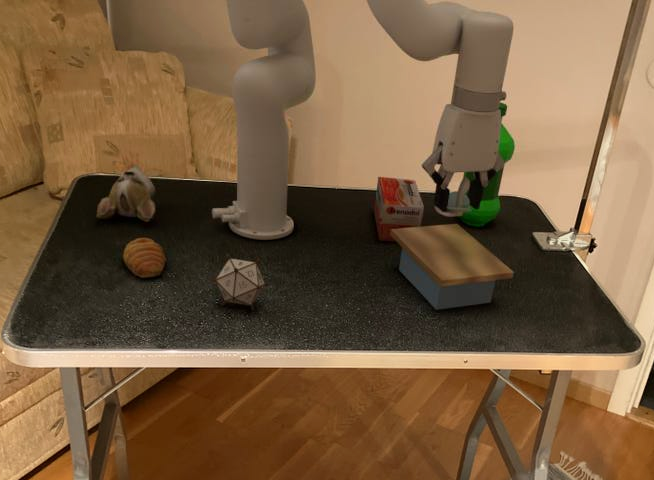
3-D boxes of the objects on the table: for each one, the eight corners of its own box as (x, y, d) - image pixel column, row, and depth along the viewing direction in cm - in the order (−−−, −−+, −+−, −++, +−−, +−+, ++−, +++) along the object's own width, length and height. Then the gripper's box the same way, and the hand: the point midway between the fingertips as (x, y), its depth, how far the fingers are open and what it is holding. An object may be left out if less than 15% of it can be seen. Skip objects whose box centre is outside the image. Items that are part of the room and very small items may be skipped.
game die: (228, 320, 124) (202, 264, 123) (275, 299, 126) (250, 244, 124) (229, 322, 116) (201, 262, 114) (280, 300, 117) (253, 240, 115)
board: (440, 286, 122) (442, 280, 121) (389, 235, 137) (390, 229, 136) (512, 278, 128) (513, 272, 127) (456, 229, 142) (457, 223, 142)
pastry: (172, 278, 126) (171, 258, 124) (130, 283, 123) (128, 262, 121) (160, 254, 133) (159, 234, 131) (121, 257, 130) (119, 237, 128)
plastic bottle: (506, 229, 160) (532, 112, 146) (463, 232, 156) (485, 112, 143) (483, 210, 168) (506, 97, 154) (442, 213, 164) (461, 96, 150)
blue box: (436, 309, 128) (441, 278, 124) (398, 269, 139) (402, 240, 135) (490, 302, 132) (497, 272, 129) (450, 264, 143) (455, 235, 140)
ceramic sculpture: (163, 159, 147) (149, 192, 135) (166, 199, 152) (153, 234, 140) (107, 154, 146) (88, 187, 134) (112, 195, 151) (94, 231, 139)
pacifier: (435, 219, 124) (471, 222, 124) (440, 183, 120) (477, 186, 121) (433, 202, 130) (467, 205, 130) (437, 167, 126) (472, 170, 127)
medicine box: (419, 244, 149) (425, 207, 144) (378, 242, 148) (383, 204, 143) (410, 214, 161) (415, 178, 157) (372, 211, 160) (376, 175, 156)
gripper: (508, 92, 123) (488, 196, 133) (416, 92, 116) (401, 202, 126) (534, 105, 118) (510, 213, 128) (438, 106, 111) (421, 220, 121)
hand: (456, 206), depth 127 cm, fingers closed on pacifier, 5 cm apart
